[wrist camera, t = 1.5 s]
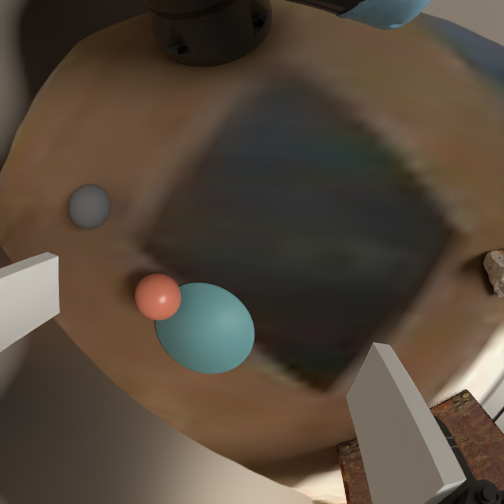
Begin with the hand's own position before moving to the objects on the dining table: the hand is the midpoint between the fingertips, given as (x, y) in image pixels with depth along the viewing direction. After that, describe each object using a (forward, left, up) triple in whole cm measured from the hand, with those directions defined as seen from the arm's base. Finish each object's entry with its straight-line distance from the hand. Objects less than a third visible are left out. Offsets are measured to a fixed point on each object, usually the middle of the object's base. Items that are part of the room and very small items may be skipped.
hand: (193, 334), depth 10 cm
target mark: (+9, -9, -23) cm, 26 cm away
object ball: (+2, -12, -20) cm, 23 cm away
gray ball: (-11, -17, -20) cm, 28 cm away
